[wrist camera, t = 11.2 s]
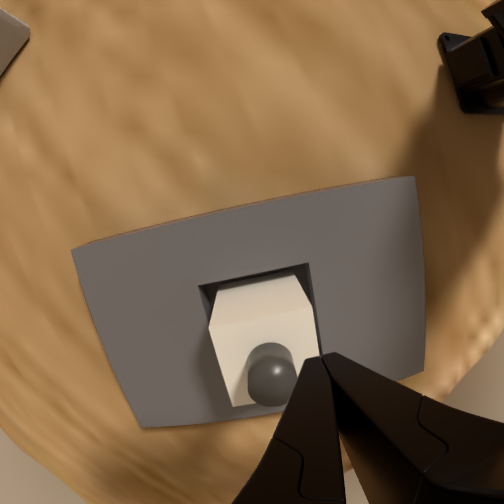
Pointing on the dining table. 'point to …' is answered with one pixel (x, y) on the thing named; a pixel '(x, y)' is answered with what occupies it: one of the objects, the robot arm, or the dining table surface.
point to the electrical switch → (11, 37)
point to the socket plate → (250, 266)
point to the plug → (262, 337)
